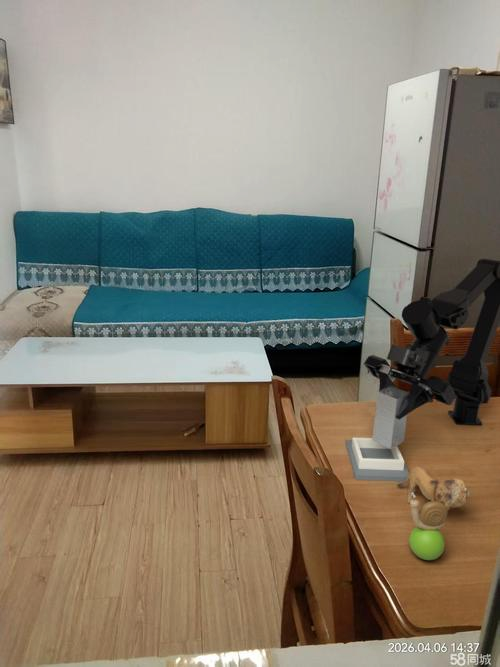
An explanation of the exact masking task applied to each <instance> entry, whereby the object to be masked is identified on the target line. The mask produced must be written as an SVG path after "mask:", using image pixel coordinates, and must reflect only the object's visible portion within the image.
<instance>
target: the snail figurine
mask: <svg viewBox="0 0 500 667" xmlns="http://www.w3.org/2000/svg"><path fill="white" fill-rule="evenodd" d="M411 495H412V499H413V500H411V501H410V503H409V505H410V510H411V511H410V512H411V518H412V522H413V524H414V525H415V527H414V528H413V529H412V531H411V532H410V535H409V537H408V538H409V539H408V540H409V546H410V549H411V551H412V552H413V554H415V556H417V557H418V558H419V559H421V560H425V561H433V560H436V559H438V558H439V557H441V555H442V554H443V552H444V551H445V546H446V544H445V538H444V536H443V534H442V531H440V529H441V528H442V527H443V526H445V524H446V522H445V521H446V519H447V518H448V513H449V512H448V511H447V508H446V507H445V505H444V504H442V503H441V502H438V501H431V500H430V501H427V502H426V503H424V504H423V505H422V506H420V501H419V500H418V499H416V498H417V495H416V494H415V492H412V493H411ZM419 507H420V508H419Z"/></svg>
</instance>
